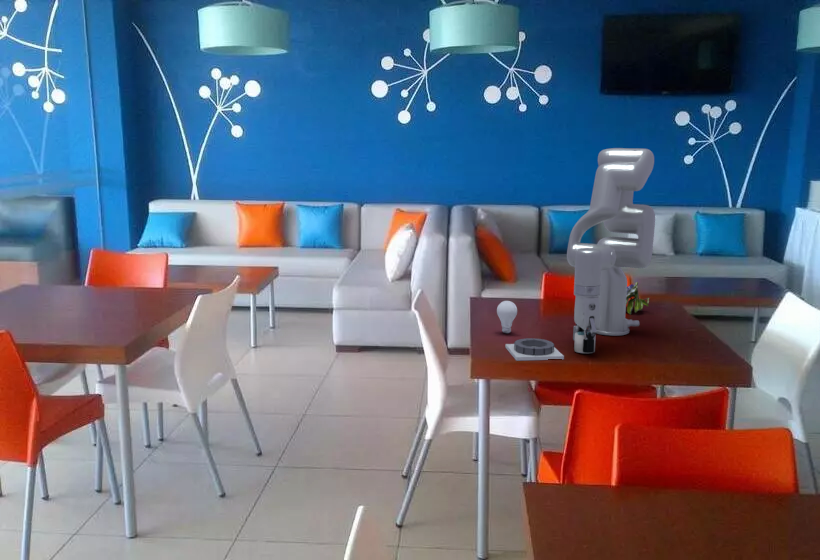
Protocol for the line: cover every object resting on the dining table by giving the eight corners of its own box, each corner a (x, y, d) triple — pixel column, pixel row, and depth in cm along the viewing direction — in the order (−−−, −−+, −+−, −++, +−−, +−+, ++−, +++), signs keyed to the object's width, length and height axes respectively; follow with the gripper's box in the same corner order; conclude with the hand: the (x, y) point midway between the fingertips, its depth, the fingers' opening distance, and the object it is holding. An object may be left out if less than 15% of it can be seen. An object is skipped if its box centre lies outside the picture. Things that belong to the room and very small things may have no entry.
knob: (590, 347, 223) (591, 329, 222) (597, 353, 217) (598, 334, 216) (571, 347, 222) (572, 329, 221) (577, 353, 217) (578, 335, 215)
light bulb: (515, 336, 237) (517, 303, 235) (495, 335, 238) (496, 302, 236) (517, 331, 244) (518, 299, 241) (497, 330, 245) (497, 298, 243)
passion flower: (617, 325, 277) (610, 293, 283) (650, 320, 275) (643, 288, 281) (618, 313, 266) (611, 279, 272) (653, 308, 264) (645, 274, 270)
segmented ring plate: (549, 346, 226) (550, 336, 226) (563, 359, 213) (564, 349, 212) (505, 347, 225) (505, 337, 224) (516, 360, 211) (516, 350, 211)
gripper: (610, 296, 208) (607, 357, 212) (589, 283, 225) (587, 340, 228) (584, 297, 207) (581, 358, 211) (565, 284, 224) (563, 341, 228)
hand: (584, 348), depth 220 cm, fingers closed on knob, 5 cm apart
